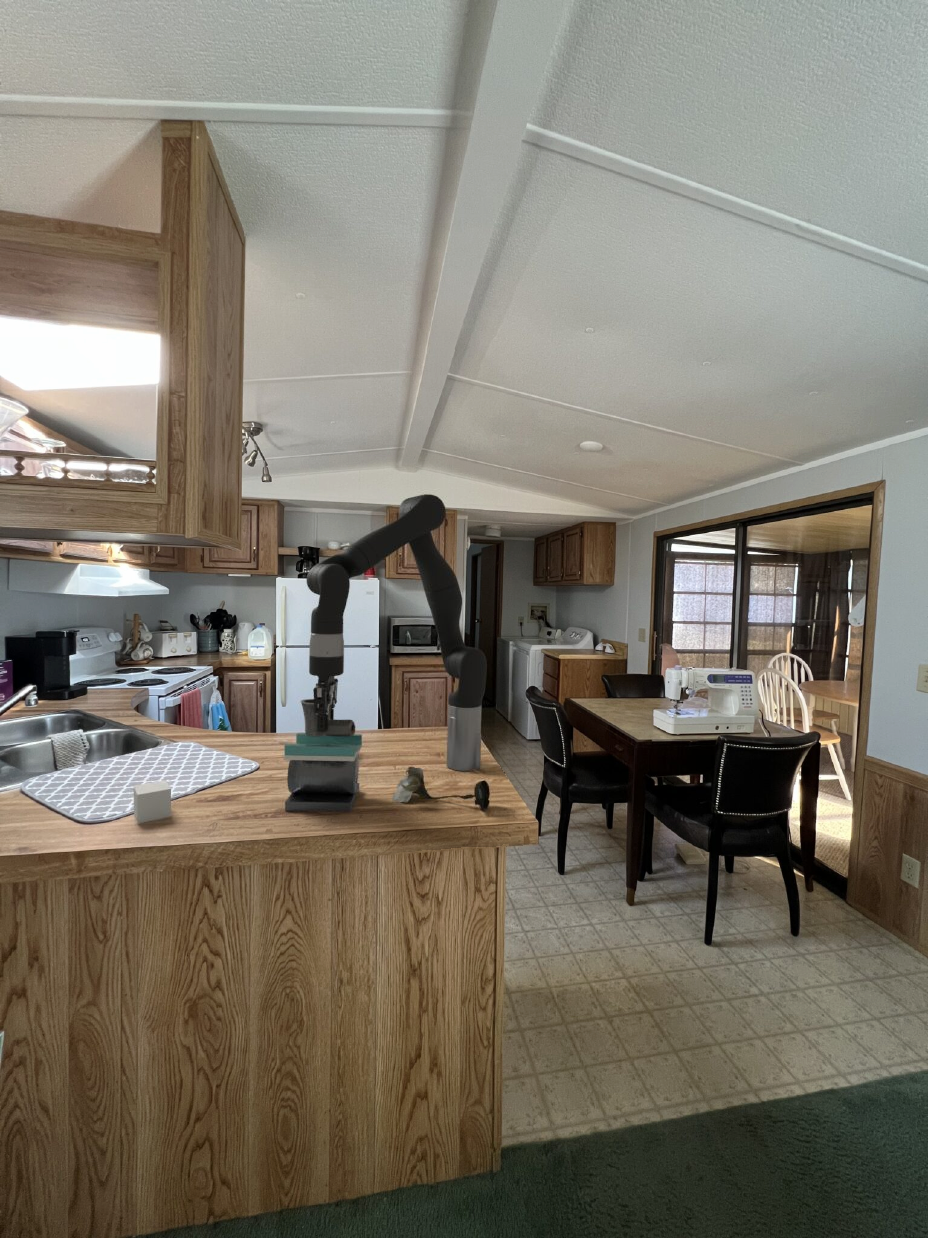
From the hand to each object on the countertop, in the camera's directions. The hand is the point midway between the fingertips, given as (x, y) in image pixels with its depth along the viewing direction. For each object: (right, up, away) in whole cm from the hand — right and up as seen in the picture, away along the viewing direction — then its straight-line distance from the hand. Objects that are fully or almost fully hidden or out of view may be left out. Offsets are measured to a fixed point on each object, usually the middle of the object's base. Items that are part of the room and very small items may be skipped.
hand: (325, 727), depth 121 cm
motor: (-1, -17, +1) cm, 17 cm away
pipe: (0, -2, 0) cm, 2 cm away
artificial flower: (+25, -18, +1) cm, 31 cm away
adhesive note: (-34, -17, -9) cm, 39 cm away
